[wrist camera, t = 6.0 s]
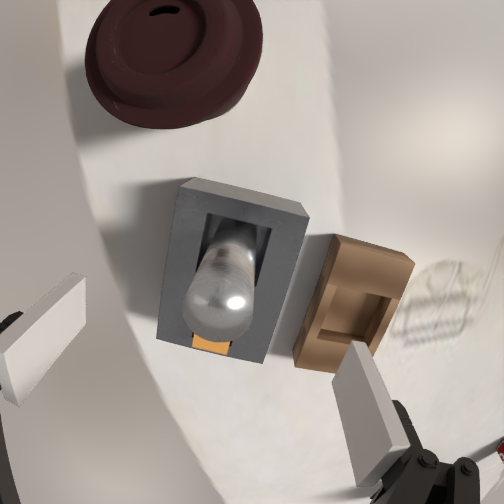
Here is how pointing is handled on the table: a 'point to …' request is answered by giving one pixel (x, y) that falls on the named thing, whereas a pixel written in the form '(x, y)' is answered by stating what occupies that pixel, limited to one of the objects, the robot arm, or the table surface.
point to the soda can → (501, 450)
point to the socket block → (266, 263)
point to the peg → (224, 284)
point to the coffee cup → (173, 59)
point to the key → (210, 345)
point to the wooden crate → (351, 302)
